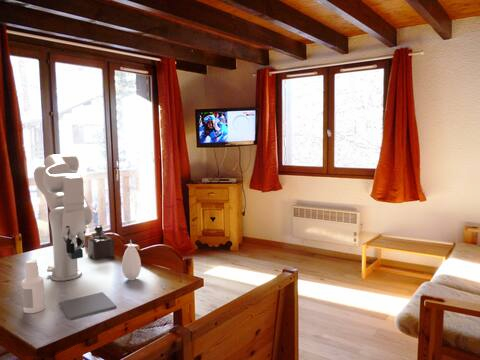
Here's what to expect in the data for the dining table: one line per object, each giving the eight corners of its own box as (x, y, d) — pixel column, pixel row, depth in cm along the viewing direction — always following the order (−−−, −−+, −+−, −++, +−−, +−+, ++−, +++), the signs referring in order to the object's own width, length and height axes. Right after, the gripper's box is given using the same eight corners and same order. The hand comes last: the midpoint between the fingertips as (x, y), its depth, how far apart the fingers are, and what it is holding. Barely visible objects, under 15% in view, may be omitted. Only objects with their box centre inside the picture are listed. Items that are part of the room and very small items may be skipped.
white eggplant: (136, 283, 166) (134, 242, 164) (119, 282, 168) (117, 241, 166) (144, 277, 174) (143, 237, 172) (128, 276, 175) (126, 236, 174)
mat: (69, 319, 133) (69, 317, 133) (59, 304, 146) (59, 302, 146) (116, 307, 142) (116, 305, 142) (102, 293, 155) (102, 291, 155)
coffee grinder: (86, 256, 206) (84, 222, 204) (107, 252, 213) (105, 219, 211) (97, 263, 194) (95, 227, 192) (118, 258, 201) (117, 224, 199)
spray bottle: (28, 306, 144) (25, 258, 142) (48, 305, 145) (45, 258, 143) (20, 314, 137) (16, 264, 135) (40, 313, 138) (37, 263, 136)
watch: (88, 256, 159) (86, 230, 157) (66, 260, 154) (65, 233, 152) (84, 252, 163) (82, 227, 162) (63, 256, 158) (61, 230, 157)
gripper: (77, 202, 165) (79, 243, 167) (52, 210, 148) (54, 256, 150) (94, 203, 164) (95, 244, 166) (70, 211, 147) (72, 257, 149)
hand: (75, 249), depth 158 cm, fingers closed on watch, 6 cm apart
